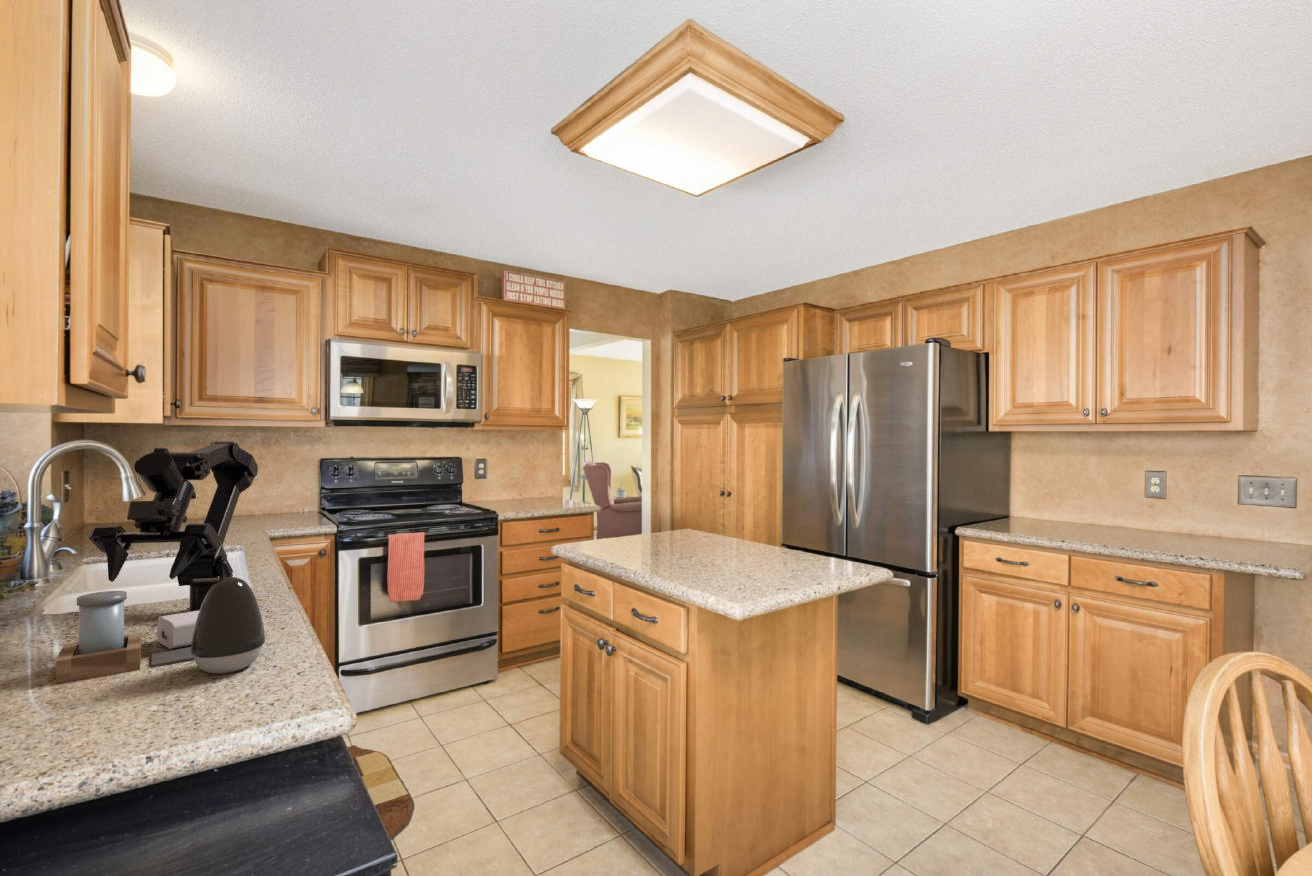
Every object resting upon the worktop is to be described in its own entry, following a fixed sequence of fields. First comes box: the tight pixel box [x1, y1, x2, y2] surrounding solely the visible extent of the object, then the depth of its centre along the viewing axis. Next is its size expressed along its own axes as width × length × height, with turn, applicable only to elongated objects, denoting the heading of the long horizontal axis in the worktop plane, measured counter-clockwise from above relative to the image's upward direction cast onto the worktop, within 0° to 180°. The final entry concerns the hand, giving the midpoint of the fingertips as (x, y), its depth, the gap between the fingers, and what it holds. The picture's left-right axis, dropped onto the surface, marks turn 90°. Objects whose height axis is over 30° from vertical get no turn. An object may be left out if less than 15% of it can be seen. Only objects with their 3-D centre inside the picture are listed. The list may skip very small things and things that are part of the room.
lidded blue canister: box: [76, 590, 128, 655], centre depth 103 cm, size 6×6×12 cm
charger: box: [156, 610, 200, 650], centre depth 119 cm, size 5×9×15 cm
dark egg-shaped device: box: [190, 576, 266, 675], centre depth 103 cm, size 10×10×15 cm
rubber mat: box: [151, 646, 195, 668], centre depth 108 cm, size 7×7×1 cm
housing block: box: [55, 632, 142, 685], centre depth 103 cm, size 10×10×4 cm
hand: (141, 579), depth 111 cm, fingers open, 9 cm apart
